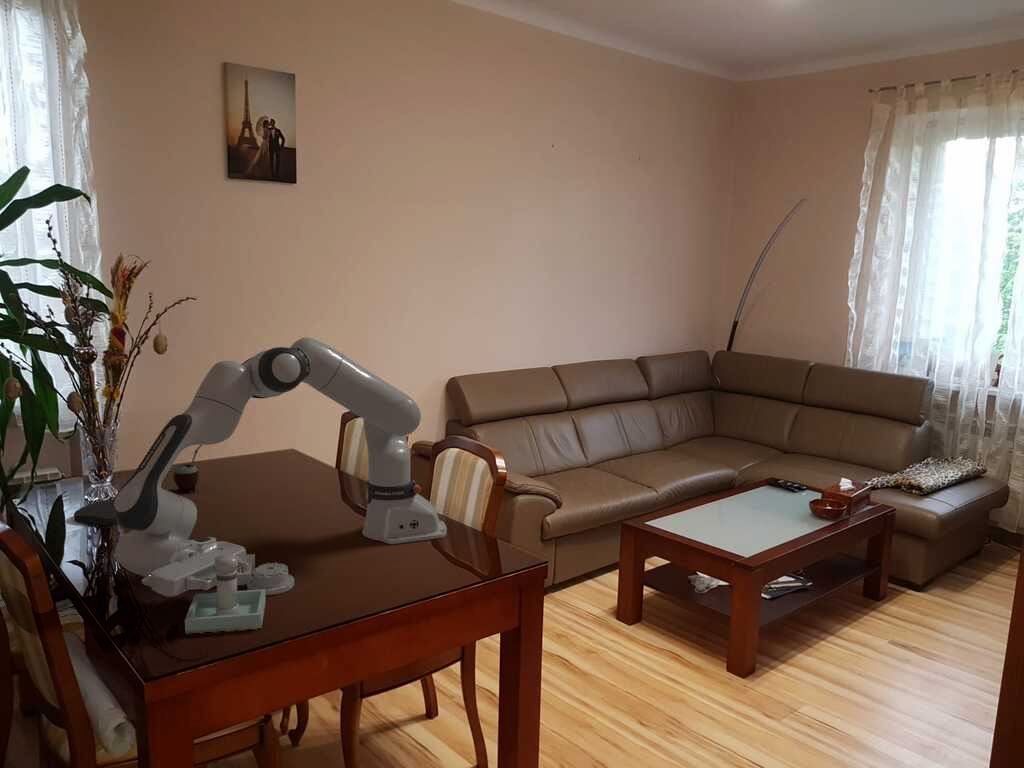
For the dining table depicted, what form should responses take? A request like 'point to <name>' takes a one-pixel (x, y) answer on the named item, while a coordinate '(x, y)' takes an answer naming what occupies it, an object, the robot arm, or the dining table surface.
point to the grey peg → (226, 585)
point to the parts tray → (206, 620)
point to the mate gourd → (186, 476)
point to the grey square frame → (243, 577)
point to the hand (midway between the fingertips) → (228, 576)
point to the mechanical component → (271, 579)
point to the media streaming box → (96, 514)
